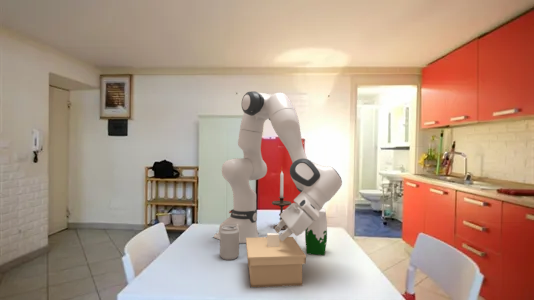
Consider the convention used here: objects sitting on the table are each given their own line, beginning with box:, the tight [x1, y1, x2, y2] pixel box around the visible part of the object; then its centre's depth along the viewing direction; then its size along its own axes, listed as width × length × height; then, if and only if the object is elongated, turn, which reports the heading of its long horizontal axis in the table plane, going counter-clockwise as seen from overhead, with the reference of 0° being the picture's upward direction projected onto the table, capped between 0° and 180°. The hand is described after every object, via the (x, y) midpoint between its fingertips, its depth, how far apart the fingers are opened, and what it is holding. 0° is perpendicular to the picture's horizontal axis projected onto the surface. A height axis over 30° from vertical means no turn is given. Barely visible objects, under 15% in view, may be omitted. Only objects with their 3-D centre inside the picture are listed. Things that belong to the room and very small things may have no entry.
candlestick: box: [271, 165, 292, 231], centre depth 152 cm, size 11×11×35 cm
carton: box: [248, 264, 303, 288], centre depth 92 cm, size 16×18×9 cm
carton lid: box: [245, 232, 307, 267], centre depth 92 cm, size 18×20×6 cm
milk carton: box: [304, 207, 328, 256], centre depth 114 cm, size 9×9×20 cm
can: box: [219, 225, 240, 261], centre depth 107 cm, size 8×8×12 cm
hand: (277, 234), depth 92 cm, fingers open, 8 cm apart
